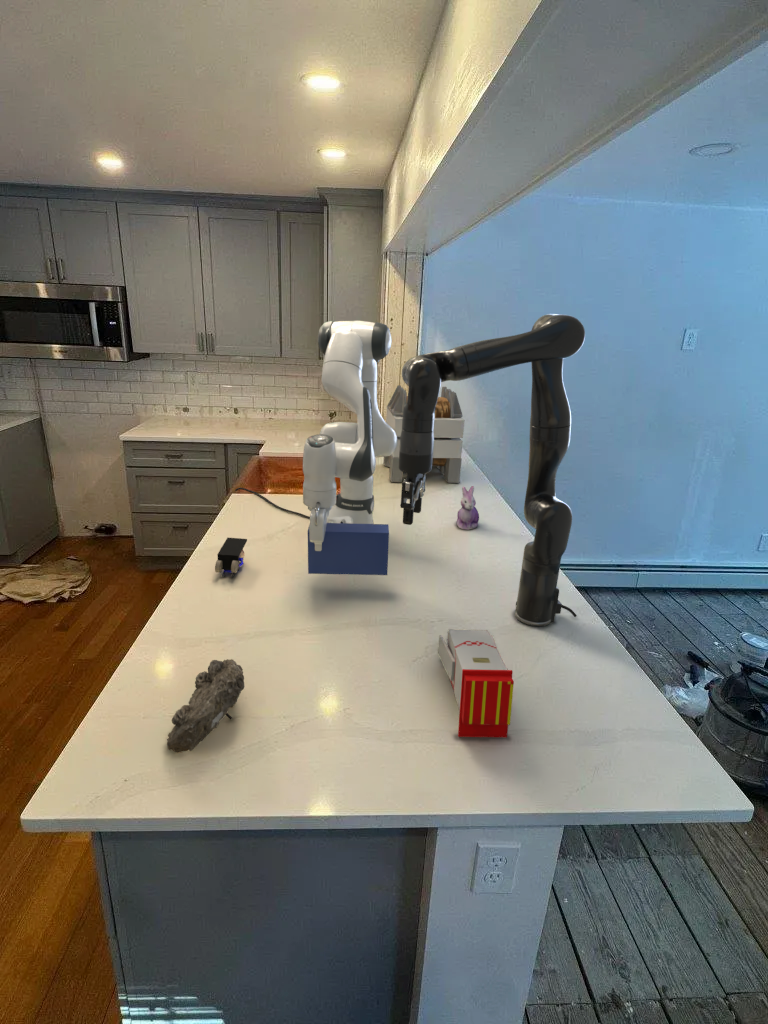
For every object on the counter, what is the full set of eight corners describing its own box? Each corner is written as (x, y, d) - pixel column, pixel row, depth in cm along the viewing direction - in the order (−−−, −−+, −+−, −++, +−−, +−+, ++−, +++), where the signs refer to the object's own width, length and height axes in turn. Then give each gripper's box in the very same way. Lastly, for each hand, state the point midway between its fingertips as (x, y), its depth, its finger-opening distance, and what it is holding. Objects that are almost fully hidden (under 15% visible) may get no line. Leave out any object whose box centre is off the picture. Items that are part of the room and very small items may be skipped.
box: (308, 573, 155) (307, 531, 151) (310, 563, 161) (309, 522, 157) (387, 575, 156) (389, 532, 152) (386, 565, 162) (388, 524, 157)
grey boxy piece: (382, 463, 289) (386, 382, 275) (445, 464, 293) (451, 384, 279) (390, 482, 257) (394, 392, 243) (460, 483, 261) (468, 394, 247)
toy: (488, 613, 130) (523, 677, 101) (484, 667, 133) (517, 744, 104) (435, 612, 130) (455, 676, 101) (432, 666, 133) (451, 743, 103)
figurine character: (238, 584, 162) (249, 557, 175) (236, 562, 158) (247, 536, 172) (215, 584, 161) (227, 556, 175) (212, 561, 158) (225, 535, 171)
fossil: (192, 660, 117) (244, 628, 112) (224, 691, 120) (276, 661, 115) (142, 746, 98) (202, 712, 93) (182, 779, 101) (242, 748, 96)
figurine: (464, 532, 204) (468, 492, 199) (449, 522, 212) (452, 484, 207) (486, 528, 208) (490, 489, 203) (469, 519, 216) (473, 481, 211)
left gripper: (328, 511, 141) (328, 561, 146) (334, 485, 160) (333, 530, 165) (303, 510, 141) (303, 560, 146) (311, 484, 160) (311, 529, 165)
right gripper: (426, 458, 119) (421, 530, 124) (438, 444, 132) (433, 510, 137) (391, 455, 121) (388, 526, 126) (407, 441, 134) (403, 506, 139)
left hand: (319, 544), depth 156 cm, fingers closed on box, 6 cm apart
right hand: (412, 517), depth 132 cm, fingers open, 8 cm apart
